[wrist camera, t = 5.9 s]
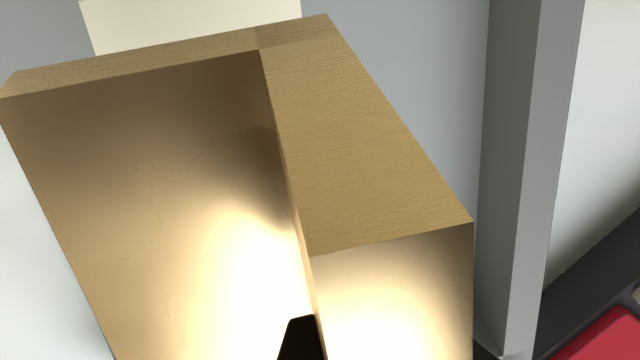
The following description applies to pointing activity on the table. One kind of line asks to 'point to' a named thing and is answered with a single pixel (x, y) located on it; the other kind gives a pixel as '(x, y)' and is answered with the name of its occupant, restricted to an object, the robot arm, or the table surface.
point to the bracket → (245, 199)
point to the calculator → (595, 303)
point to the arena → (399, 104)
